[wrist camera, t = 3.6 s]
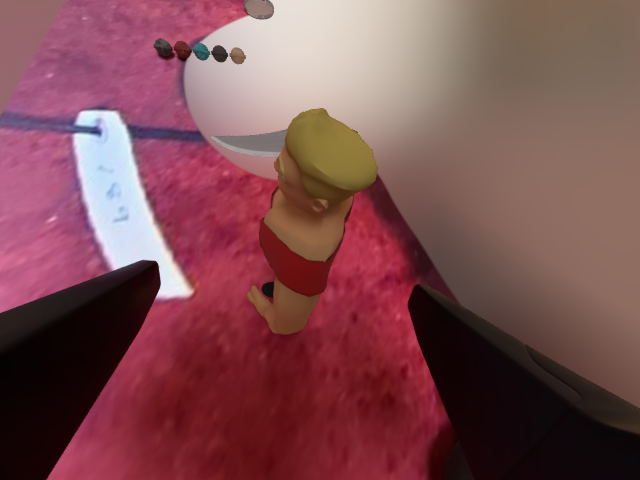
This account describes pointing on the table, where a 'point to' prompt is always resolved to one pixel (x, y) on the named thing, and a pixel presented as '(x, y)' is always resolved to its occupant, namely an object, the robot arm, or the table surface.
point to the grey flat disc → (259, 8)
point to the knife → (255, 143)
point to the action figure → (309, 214)
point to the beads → (199, 51)
